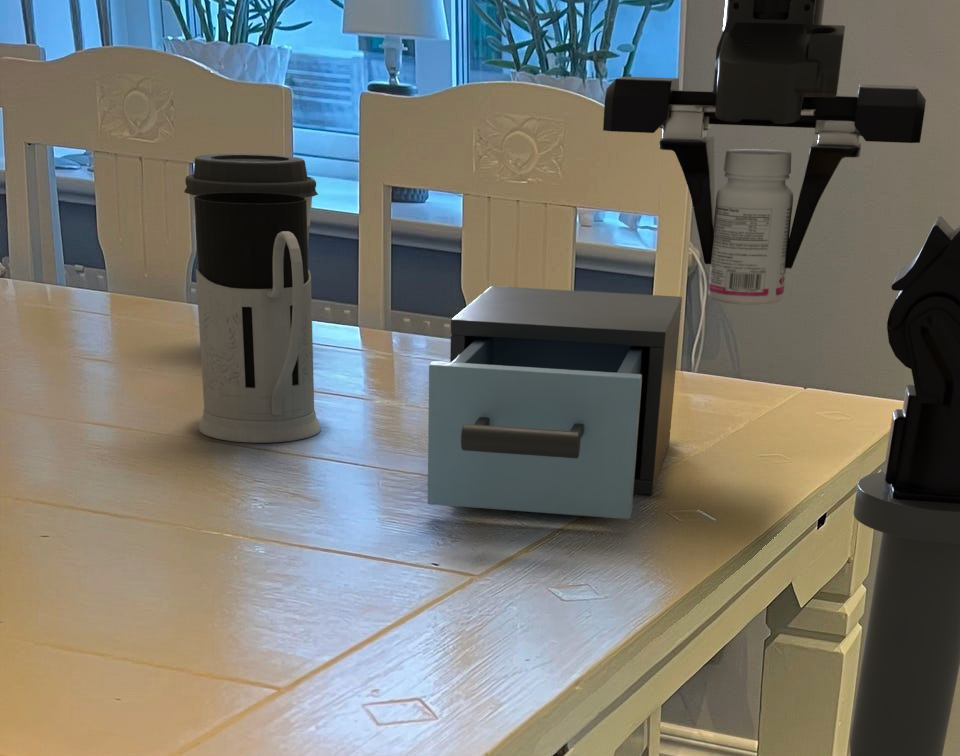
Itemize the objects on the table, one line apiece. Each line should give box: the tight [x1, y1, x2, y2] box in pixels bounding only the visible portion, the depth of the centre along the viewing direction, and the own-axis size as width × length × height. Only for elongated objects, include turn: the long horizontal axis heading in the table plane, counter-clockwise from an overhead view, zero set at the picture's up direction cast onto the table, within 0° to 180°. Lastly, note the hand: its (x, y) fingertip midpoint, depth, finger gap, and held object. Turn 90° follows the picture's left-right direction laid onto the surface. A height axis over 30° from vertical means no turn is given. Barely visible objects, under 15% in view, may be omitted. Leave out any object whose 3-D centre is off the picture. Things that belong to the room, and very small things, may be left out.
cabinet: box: [449, 285, 683, 496], centre depth 106 cm, size 15×13×10 cm
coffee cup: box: [184, 153, 319, 242], centre depth 138 cm, size 11×11×15 cm
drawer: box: [427, 337, 646, 520], centre depth 96 cm, size 18×12×8 cm, turn 170°
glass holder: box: [194, 192, 322, 444], centre depth 109 cm, size 9×14×15 cm, turn 24°
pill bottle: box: [707, 148, 794, 306], centre depth 99 cm, size 5×5×8 cm
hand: (747, 265), depth 100 cm, fingers closed on pill bottle, 5 cm apart
